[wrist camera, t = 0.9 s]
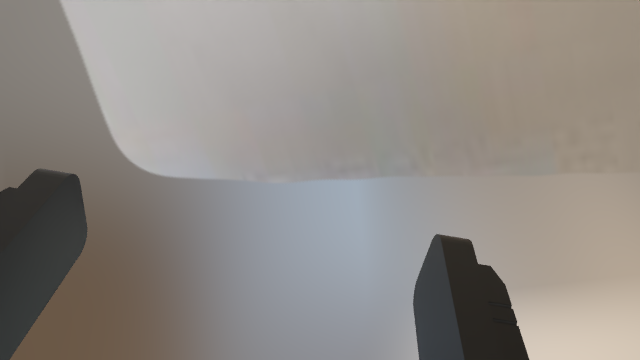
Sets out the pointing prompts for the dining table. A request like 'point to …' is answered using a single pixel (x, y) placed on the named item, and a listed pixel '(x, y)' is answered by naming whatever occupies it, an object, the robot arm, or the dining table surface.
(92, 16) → the dining table surface
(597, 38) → the dining table surface
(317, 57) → the dining table surface
